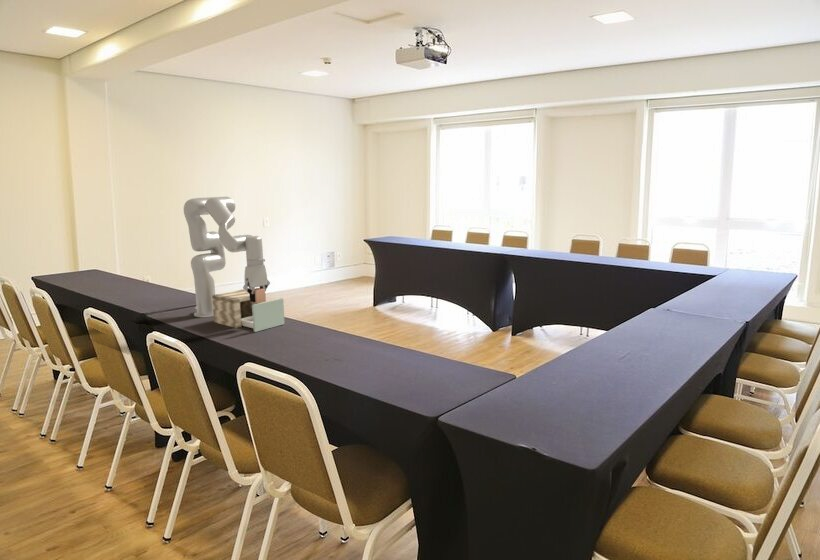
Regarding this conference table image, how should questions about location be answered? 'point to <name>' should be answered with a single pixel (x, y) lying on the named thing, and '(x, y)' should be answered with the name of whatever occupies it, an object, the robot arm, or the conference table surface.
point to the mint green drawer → (265, 315)
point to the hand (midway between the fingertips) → (257, 300)
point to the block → (259, 295)
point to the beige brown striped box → (232, 307)
